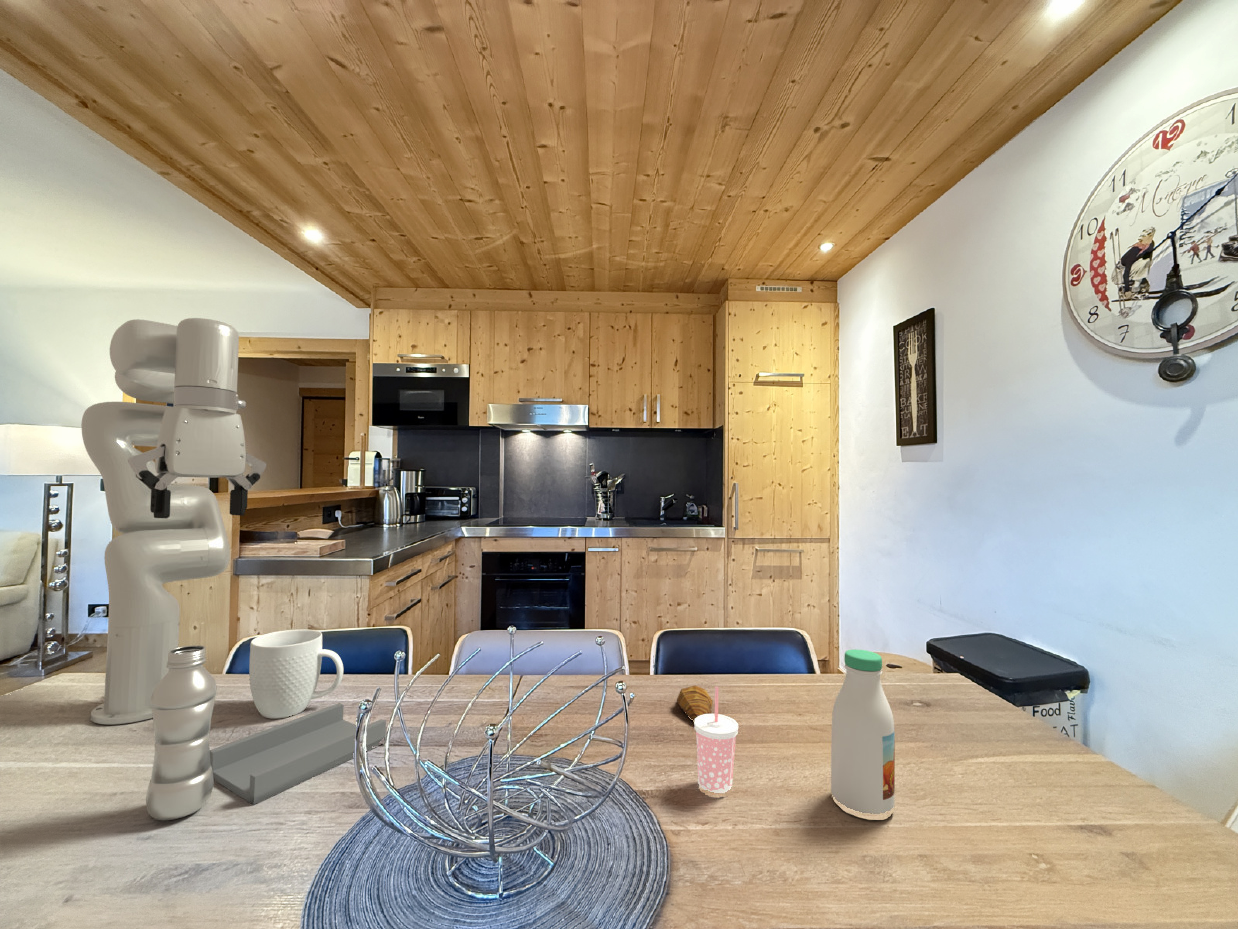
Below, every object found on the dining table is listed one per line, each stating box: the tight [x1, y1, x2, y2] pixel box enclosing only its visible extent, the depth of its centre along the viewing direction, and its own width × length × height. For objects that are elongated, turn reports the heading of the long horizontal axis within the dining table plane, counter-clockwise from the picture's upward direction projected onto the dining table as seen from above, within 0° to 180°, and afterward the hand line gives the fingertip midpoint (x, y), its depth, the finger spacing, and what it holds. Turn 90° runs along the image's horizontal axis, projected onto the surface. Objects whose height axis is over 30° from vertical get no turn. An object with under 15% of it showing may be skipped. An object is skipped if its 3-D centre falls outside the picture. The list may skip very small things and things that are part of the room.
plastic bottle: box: [145, 644, 218, 821], centre depth 66 cm, size 6×7×20 cm
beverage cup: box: [693, 685, 739, 793], centre depth 74 cm, size 6×6×14 cm
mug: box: [248, 628, 344, 720], centre depth 95 cm, size 15×11×13 cm
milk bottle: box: [830, 649, 896, 814], centre depth 71 cm, size 8×8×20 cm
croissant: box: [676, 685, 713, 721], centre depth 99 cm, size 14×7×5 cm, turn 2°
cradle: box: [210, 702, 387, 806], centre depth 79 cm, size 12×19×4 cm, turn 150°
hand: (201, 516), depth 79 cm, fingers open, 9 cm apart
